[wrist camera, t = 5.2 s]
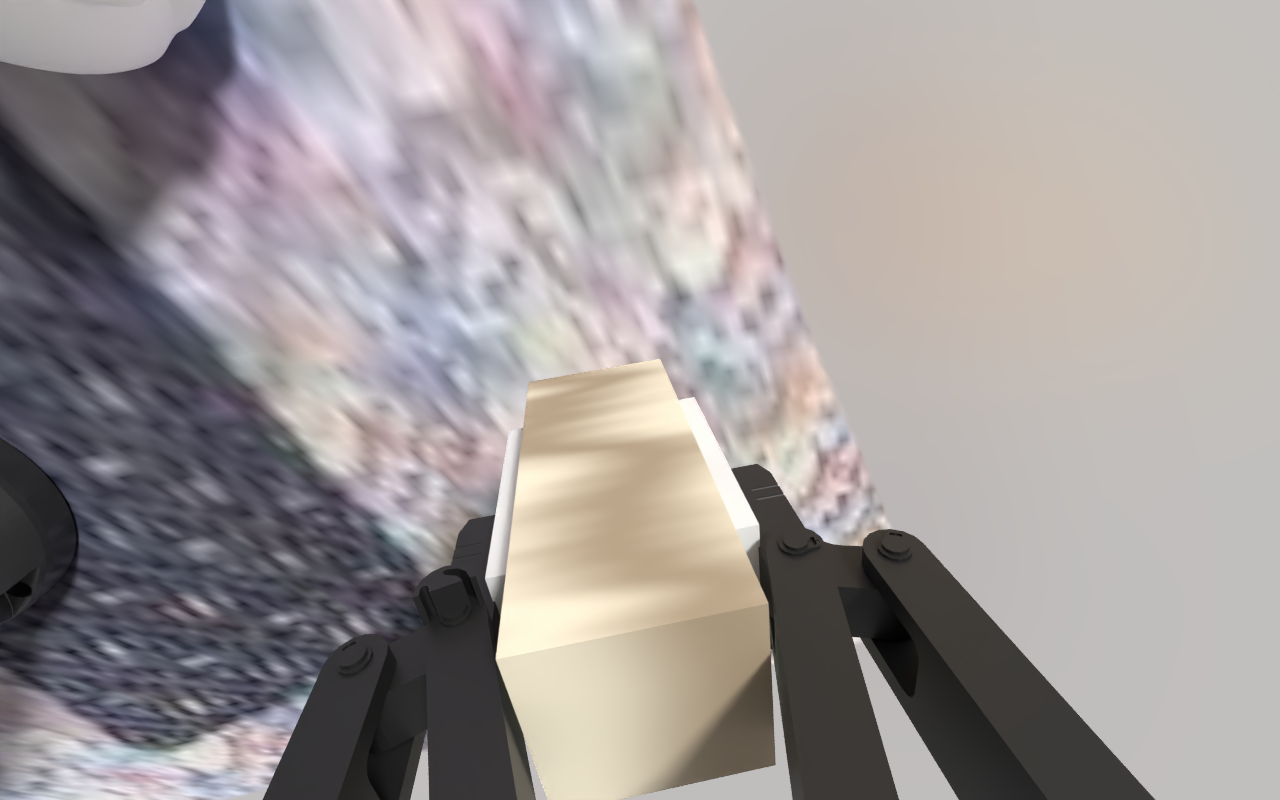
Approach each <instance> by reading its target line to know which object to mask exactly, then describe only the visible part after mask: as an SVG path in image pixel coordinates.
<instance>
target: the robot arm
mask: <svg viewBox="0 0 1280 800" xmlns="http://www.w3.org/2000/svg"><path fill="white" fill-rule="evenodd" d="M678 401H679V403H680V405H681V408H682V410H683V412H684V414H685V417H686V419H687V421H688V423H689V426H690V428H691V430H692V432H693V435H694V437H695V439H696V441H697V444H698V446H699V448H700V450H701V453H702V455H703V457H704V459H705V462H706V464H707V466H708V468H709V471H710V473H711V475H712V477H713V480H714V482H715V484H716V486H717V489H718V491H719V493H720V495H721V498H722V500H723V502H724V504H725V507H726V509H727V511H728V513H729V516H730V518H731V520H732V522H733V525H734V527H735V529H736V531H737V534H738V536H739V538H740V540H741V543H742V545H743V547H744V549H745V552H746V554H747V556H748V558H749V561H750V563H751V565H752V567H753V570H754V572H755V574H756V576H757V579H758V581H759V583H760V585H761V588H762V590H763V592H764V594H765V597H766V599H767V601H768V604H769V626H770V649H773V656H774V664H775V671H776V679H777V686H778V693H779V700H780V707H781V716H782V723H783V730H784V738H785V745H786V753H787V760H788V768H789V775H790V782H791V789H792V797H793V800H899V799H898V795H897V791H896V788H895V784H894V781H893V778H892V774H891V770H890V767H889V764H888V760H887V757H886V753H885V751H884V747H883V743H882V740H881V736H880V733H879V729H878V725H877V722H876V718H875V715H874V712H873V708H872V705H871V702H870V698H869V694H868V691H867V687H866V684H865V680H864V677H863V673H862V670H861V666H860V663H859V660H858V656H857V653H856V649H855V646H854V642H853V639H852V637H860V638H861V640H862V641H863V643H864V645H865V646H866V648H867V650H868V651H869V653H870V654H871V656H872V658H873V660H874V661H875V663H876V664H877V666H878V668H879V669H880V671H881V672H882V674H883V676H884V677H885V679H886V681H887V682H888V684H889V686H890V687H891V689H892V691H893V692H894V694H895V696H896V697H897V699H898V700H899V702H900V704H901V705H902V707H903V709H904V710H905V712H906V714H907V715H908V717H909V719H910V720H911V722H912V723H913V725H914V727H915V728H916V730H917V732H918V733H919V735H920V736H921V738H922V740H923V741H924V743H925V745H926V746H927V748H928V750H929V751H930V753H931V755H932V756H933V758H934V760H935V761H936V763H937V764H938V766H939V768H940V769H941V771H942V773H943V774H944V776H945V778H946V779H947V781H948V782H949V784H950V786H951V787H952V789H953V791H954V792H955V794H956V796H957V797H958V799H959V800H1155V799H1154V798H1153V797H1152V796H1151V795H1150V794H1149V792H1148V791H1146V789H1145V788H1144V787H1143V786H1142V785H1141V784H1140V783H1139V782H1138V780H1137V779H1136V778H1135V777H1134V776H1133V775H1132V774H1131V773H1130V771H1129V770H1128V769H1127V768H1126V767H1125V766H1124V765H1123V764H1122V763H1121V762H1120V760H1119V759H1118V758H1117V757H1116V756H1115V755H1114V754H1113V753H1112V752H1111V750H1110V749H1109V748H1108V747H1107V746H1106V745H1105V744H1104V743H1103V742H1102V740H1101V739H1100V738H1099V737H1098V736H1097V735H1096V734H1095V733H1094V732H1093V731H1092V730H1091V729H1090V727H1089V726H1088V725H1087V724H1086V723H1085V722H1084V721H1083V720H1082V718H1081V717H1080V716H1079V715H1078V714H1077V713H1076V712H1075V711H1074V710H1073V708H1072V707H1071V706H1070V705H1069V704H1068V703H1067V702H1066V701H1065V700H1064V698H1063V697H1062V696H1061V695H1060V694H1059V693H1058V692H1057V691H1056V690H1055V688H1054V687H1053V686H1052V685H1051V684H1050V683H1049V682H1048V681H1047V680H1046V679H1045V677H1044V676H1043V675H1042V674H1041V673H1040V672H1039V671H1038V670H1037V669H1036V667H1035V666H1034V665H1033V664H1032V663H1031V662H1030V661H1029V660H1028V659H1027V658H1026V657H1025V655H1023V653H1022V652H1021V651H1020V650H1019V649H1018V648H1017V647H1016V645H1015V644H1014V643H1013V642H1012V641H1011V640H1010V639H1009V638H1008V636H1007V635H1005V633H1004V632H1003V631H1002V630H1001V629H1000V628H999V627H998V625H997V624H996V623H995V622H994V621H993V620H992V619H991V618H990V617H989V615H987V613H986V612H985V611H984V610H983V609H982V608H981V607H980V606H979V605H978V603H977V602H976V601H975V600H974V599H973V598H972V597H971V596H970V594H969V593H968V592H967V591H966V590H965V589H964V588H963V587H962V586H961V585H960V583H959V582H958V581H957V580H956V579H955V578H954V577H953V576H952V575H951V573H950V572H949V571H948V570H947V569H946V568H945V567H944V566H943V565H942V563H940V561H939V560H938V559H937V558H936V557H935V556H934V555H933V554H932V553H931V551H930V550H929V549H928V548H927V547H926V546H925V545H924V544H923V543H922V542H921V541H920V540H919V539H917V538H916V537H915V536H913V535H910V534H908V533H906V532H903V531H897V530H892V529H887V530H878V531H875V532H873V533H870V534H869V535H868V536H867V537H866V538H865V539H864V542H863V546H842V545H834V544H830V543H826V542H824V541H823V540H822V538H821V537H820V536H819V535H818V534H816V533H815V532H814V531H811V530H809V529H806V528H805V527H804V526H803V524H802V522H801V521H800V519H799V518H798V516H797V514H796V513H795V511H794V510H793V508H792V506H791V505H790V503H789V502H788V500H787V498H786V497H785V495H783V492H782V490H781V489H780V487H779V486H778V484H777V482H776V481H775V479H774V477H773V476H772V474H771V473H770V472H769V471H767V470H766V469H764V468H763V467H761V466H760V465H758V464H754V465H749V466H743V467H738V468H733V469H731V468H730V466H729V464H728V462H727V460H726V458H725V457H724V455H723V453H722V451H721V449H720V447H719V445H718V443H717V441H716V439H715V437H714V435H713V433H712V431H711V429H710V427H709V425H708V423H707V421H706V419H705V417H704V415H703V413H702V411H701V409H700V407H699V405H698V404H697V402H696V400H695V398H694V397H692V398H686V399H681V400H678ZM522 435H523V428H522V429H516V430H511V431H509V435H508V441H507V447H506V453H505V459H504V466H503V472H502V478H501V484H500V490H499V496H498V502H497V508H496V514H495V515H493V516H487V517H482V518H477V519H472V520H469V521H468V522H467V524H466V525H465V526H464V528H463V529H462V530H461V531H460V533H459V535H458V539H457V543H456V547H455V548H456V550H455V551H454V555H453V561H452V563H451V565H450V566H445V567H442V568H440V569H438V570H435V571H433V572H431V573H430V574H429V575H428V576H426V577H425V578H424V579H422V580H421V582H420V583H419V584H418V586H417V587H416V588H415V591H414V595H413V599H414V602H415V604H416V606H417V608H418V611H419V613H420V615H421V618H422V620H423V622H424V624H425V625H424V626H422V627H421V628H420V629H418V630H416V631H414V632H412V633H411V634H409V635H406V636H404V637H402V638H400V639H398V640H395V641H393V642H391V643H389V644H387V642H386V640H385V638H384V637H382V636H380V635H377V634H365V635H362V636H359V637H356V638H353V639H351V640H349V641H348V642H346V643H344V644H343V645H341V646H340V647H339V648H338V649H337V650H335V651H334V652H333V653H332V654H331V655H330V656H329V658H328V659H327V661H326V662H325V664H324V665H323V667H322V669H321V672H320V674H319V676H318V678H317V681H316V683H315V685H314V687H313V689H312V692H311V694H310V696H309V698H308V700H307V703H306V705H305V707H304V709H303V712H302V714H301V716H300V718H299V720H298V723H297V725H296V727H295V729H294V731H293V734H292V736H291V738H290V740H289V743H288V745H287V747H286V749H285V751H284V754H283V756H282V758H281V760H280V762H279V765H278V767H277V769H276V771H275V773H274V776H273V778H272V780H271V782H270V785H269V787H268V789H267V791H266V793H265V796H264V798H263V800H410V798H411V793H412V789H413V785H414V781H415V776H416V772H417V768H418V763H419V759H420V755H421V750H422V746H423V742H424V738H425V733H426V730H427V729H428V766H429V800H536V798H535V793H534V788H533V783H532V778H531V772H530V767H529V762H528V757H527V752H526V746H525V741H524V736H523V732H522V729H521V727H520V724H519V721H518V718H517V716H516V713H515V710H514V708H513V705H512V702H511V700H510V697H509V694H508V691H507V689H506V686H505V683H504V681H503V678H502V675H501V673H500V670H499V667H498V664H497V662H496V652H497V644H498V636H499V627H500V619H501V610H502V602H503V594H504V585H505V577H506V569H507V560H508V552H509V544H510V535H511V527H512V519H513V510H514V502H515V493H516V485H517V477H518V468H519V460H520V452H521V443H522ZM75 548H76V532H75V526H74V521H73V518H72V515H71V512H70V510H69V508H68V506H67V504H66V502H65V500H64V499H63V497H62V495H61V494H60V492H59V491H58V489H57V488H56V487H55V485H54V484H53V483H52V482H51V480H50V479H49V478H48V477H47V476H46V475H45V474H44V473H43V472H42V471H41V470H40V469H39V468H38V467H37V466H36V465H35V464H34V463H33V462H32V461H30V460H29V459H28V458H27V457H26V456H24V455H23V454H22V453H21V452H19V451H18V450H17V449H15V448H14V447H12V446H11V445H9V444H8V443H6V442H5V441H3V440H2V439H0V625H2V624H4V623H6V622H8V621H10V620H11V619H13V618H15V617H16V616H18V615H19V614H21V613H22V612H24V611H25V610H26V609H28V608H29V607H30V606H31V605H33V604H34V603H35V602H36V601H37V600H38V599H39V598H40V597H41V596H42V595H44V594H45V593H46V592H47V591H48V590H49V589H50V588H51V587H52V586H53V585H54V584H56V583H57V582H58V581H59V580H60V579H61V577H62V576H63V575H64V574H65V572H66V571H67V569H68V568H69V566H70V564H71V562H72V559H73V557H74V553H75Z"/></svg>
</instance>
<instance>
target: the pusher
mask: <svg viewBox="0 0 1280 800" xmlns="http://www.w3.org/2000/svg"><path fill="white" fill-rule="evenodd" d="M496 662H497V664H498V667H499V670H500V673H501V675H502V678H503V681H504V683H505V686H506V689H507V691H508V694H509V697H510V700H511V702H512V705H513V708H514V710H515V713H516V716H517V718H518V721H519V724H520V727H521V729H522V732H523V735H524V737H525V740H526V743H527V745H528V748H529V751H530V753H531V756H532V759H533V762H534V764H535V767H536V770H537V772H538V775H539V778H540V780H541V783H542V786H543V789H544V791H545V794H546V797H547V799H548V800H621V799H625V798H629V797H634V796H638V795H643V794H647V793H652V792H657V791H661V790H665V789H670V788H674V787H679V786H683V785H688V784H692V783H697V782H701V781H706V780H710V779H715V778H719V777H724V776H728V775H733V774H737V773H741V772H746V771H750V770H755V769H760V768H764V767H769V766H773V765H775V743H774V721H773V697H772V675H771V674H772V673H771V650H770V627H769V604H768V601H767V599H766V597H765V594H764V592H763V590H762V588H761V585H760V583H759V581H758V579H757V576H756V574H755V572H754V570H753V567H752V565H751V563H750V561H749V558H748V556H747V554H746V552H745V549H744V547H743V545H742V543H741V540H740V538H739V536H738V534H737V531H736V529H735V527H734V525H733V522H732V520H731V518H730V516H729V513H728V511H727V509H726V507H725V504H724V502H723V500H722V498H721V495H720V493H719V491H718V489H717V486H716V484H715V482H714V480H713V477H712V475H711V473H710V471H709V468H708V466H707V464H706V462H705V459H704V457H703V455H702V453H701V450H700V448H699V446H698V444H697V441H696V439H695V437H694V435H693V432H692V430H691V428H690V426H689V423H688V421H687V419H686V417H685V414H684V412H683V410H682V408H681V405H680V403H679V401H678V398H677V396H676V394H675V392H674V389H673V387H672V385H671V383H670V380H669V378H668V376H667V374H666V371H665V369H664V367H663V365H662V362H661V360H660V359H657V360H651V361H645V362H640V363H634V364H628V365H623V366H617V367H612V368H606V369H600V370H595V371H589V372H583V373H578V374H572V375H566V376H561V377H555V378H550V379H544V380H538V381H533V382H529V385H528V393H527V402H526V410H525V418H524V427H523V435H522V443H521V452H520V460H519V468H518V477H517V485H516V493H515V502H514V510H513V519H512V527H511V535H510V544H509V552H508V560H507V569H506V577H505V585H504V594H503V602H502V610H501V619H500V627H499V636H498V644H497V652H496Z"/></svg>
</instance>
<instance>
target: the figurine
mask: <svg viewBox="0 0 1280 800" xmlns="http://www.w3.org/2000/svg"><path fill="white" fill-rule="evenodd" d="M205 1H206V0H0V61H1V62H5V63H10V64H14V65H19V66H23V67H28V68H34V69H40V70H46V71H53V72H61V73H71V74H110V73H118V72H124V71H130V70H134V69H138V68H141V67H144V66H147V65H149V64H151V63H153V62H155V61H156V60H158V59H159V58H160V57H161V56H162V55H163V54H164V53H165V51H166V49H167V48H168V46H169V44H170V42H171V41H172V39H173V38H174V36H175V35H176V34H177V33H178V32H180V31H182V30H184V29H186V28H187V27H189V26H190V25H191V23H192V22H193V21H194V19H195V18H196V16H197V15H198V13H199V12H200V10H201V8H202V6H203V5H204V3H205Z"/></svg>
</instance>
